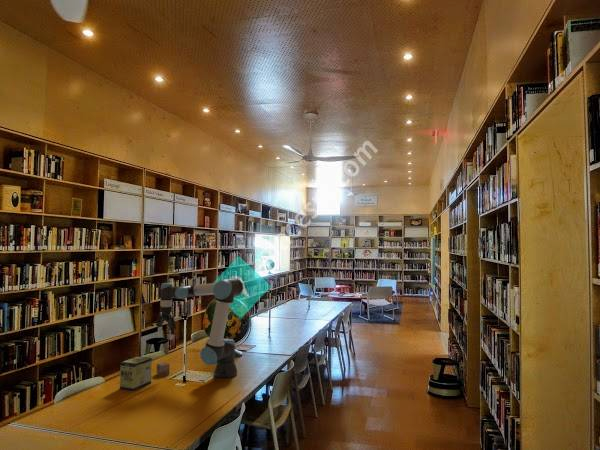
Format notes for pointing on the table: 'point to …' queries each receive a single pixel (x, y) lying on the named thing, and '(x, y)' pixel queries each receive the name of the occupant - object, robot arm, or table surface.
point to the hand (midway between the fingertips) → (165, 338)
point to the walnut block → (163, 369)
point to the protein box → (135, 373)
